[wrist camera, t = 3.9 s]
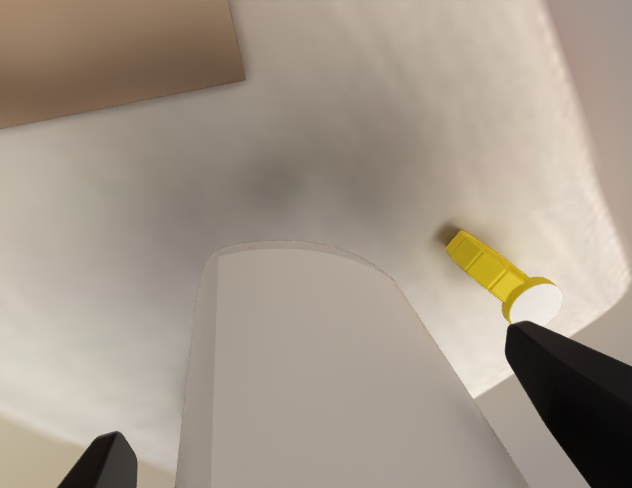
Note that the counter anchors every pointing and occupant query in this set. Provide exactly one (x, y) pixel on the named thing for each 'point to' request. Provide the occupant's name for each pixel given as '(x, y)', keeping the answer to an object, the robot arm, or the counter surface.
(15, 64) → the step riser
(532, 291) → the watch
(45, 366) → the counter surface
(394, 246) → the counter surface
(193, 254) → the counter surface
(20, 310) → the counter surface
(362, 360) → the eye dropper bottle
